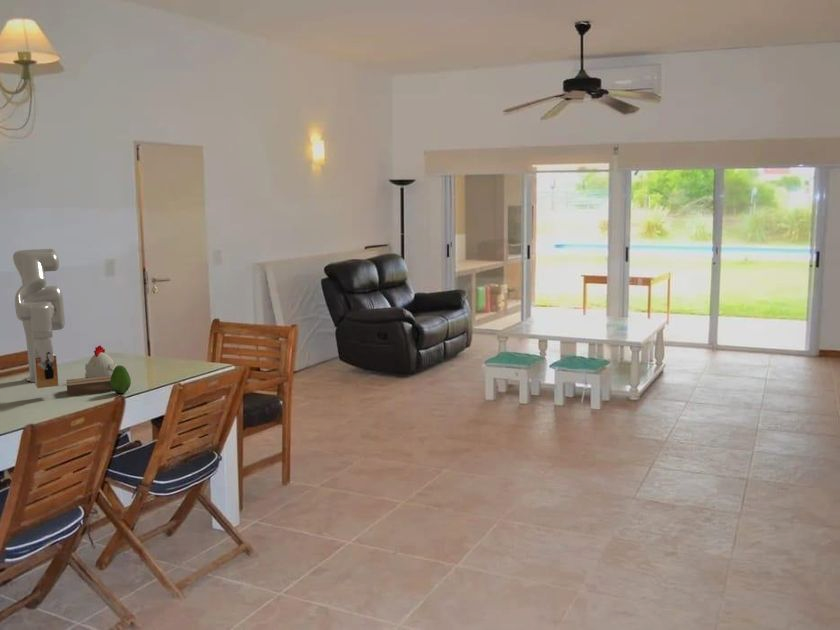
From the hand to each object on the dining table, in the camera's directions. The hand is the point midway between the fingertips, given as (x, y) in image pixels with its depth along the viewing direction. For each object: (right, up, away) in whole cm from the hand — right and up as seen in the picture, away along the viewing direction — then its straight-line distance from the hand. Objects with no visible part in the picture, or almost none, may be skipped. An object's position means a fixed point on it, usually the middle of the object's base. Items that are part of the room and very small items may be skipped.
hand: (46, 376), depth 328 cm
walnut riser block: (+14, -7, +12) cm, 19 cm away
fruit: (+29, -8, +6) cm, 30 cm away
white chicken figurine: (+8, -4, +37) cm, 38 cm away
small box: (0, -4, +1) cm, 4 cm away
